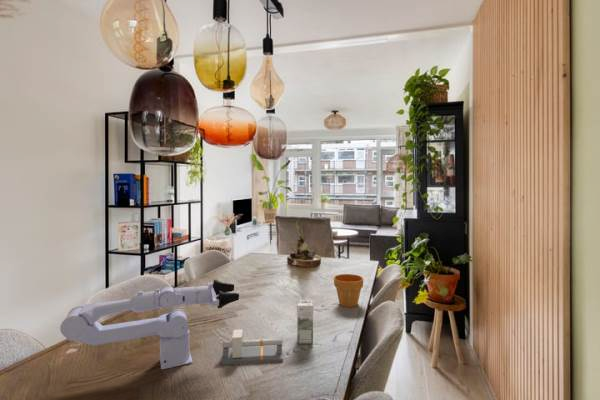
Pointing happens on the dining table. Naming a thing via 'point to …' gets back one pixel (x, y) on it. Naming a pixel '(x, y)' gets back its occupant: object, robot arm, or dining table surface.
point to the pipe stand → (254, 352)
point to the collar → (237, 343)
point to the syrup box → (305, 322)
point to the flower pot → (348, 289)
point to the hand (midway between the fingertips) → (236, 292)
